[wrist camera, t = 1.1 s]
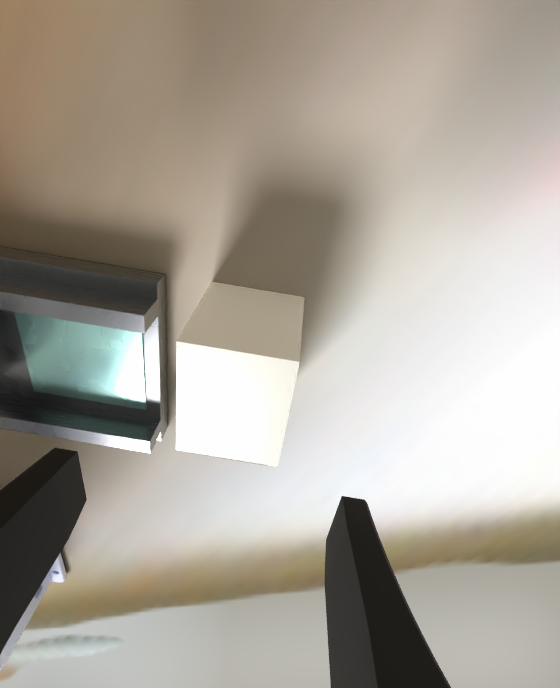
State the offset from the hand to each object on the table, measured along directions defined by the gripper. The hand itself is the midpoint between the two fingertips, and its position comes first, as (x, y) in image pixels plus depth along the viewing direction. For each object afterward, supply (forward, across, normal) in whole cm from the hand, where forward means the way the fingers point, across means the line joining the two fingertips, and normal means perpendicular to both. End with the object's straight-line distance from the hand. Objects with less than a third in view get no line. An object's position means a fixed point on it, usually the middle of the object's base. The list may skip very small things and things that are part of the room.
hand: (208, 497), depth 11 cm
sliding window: (+8, +11, +2) cm, 14 cm away
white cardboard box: (+9, 0, 0) cm, 9 cm away
